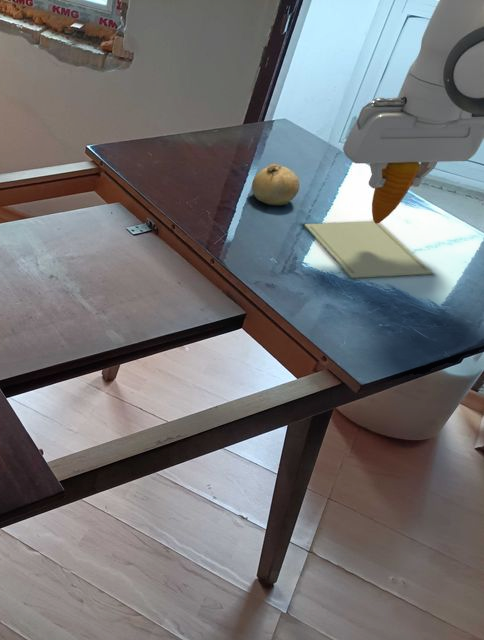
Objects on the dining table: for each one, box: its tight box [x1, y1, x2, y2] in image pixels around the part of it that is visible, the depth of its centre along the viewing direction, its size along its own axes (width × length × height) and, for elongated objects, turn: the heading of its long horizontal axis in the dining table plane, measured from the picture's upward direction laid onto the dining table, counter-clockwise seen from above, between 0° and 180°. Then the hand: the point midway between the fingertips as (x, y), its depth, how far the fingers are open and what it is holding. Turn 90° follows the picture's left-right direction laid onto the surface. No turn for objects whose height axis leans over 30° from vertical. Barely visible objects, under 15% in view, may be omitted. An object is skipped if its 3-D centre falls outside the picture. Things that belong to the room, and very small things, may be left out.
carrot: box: [371, 162, 421, 224], centre depth 106 cm, size 5×5×15 cm
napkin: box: [304, 221, 433, 279], centre depth 114 cm, size 16×14×1 cm
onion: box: [251, 162, 301, 206], centre depth 123 cm, size 8×8×7 cm
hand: (393, 186), depth 107 cm, fingers closed on carrot, 5 cm apart
